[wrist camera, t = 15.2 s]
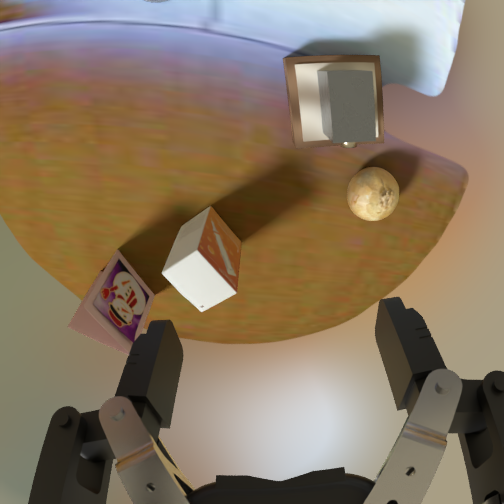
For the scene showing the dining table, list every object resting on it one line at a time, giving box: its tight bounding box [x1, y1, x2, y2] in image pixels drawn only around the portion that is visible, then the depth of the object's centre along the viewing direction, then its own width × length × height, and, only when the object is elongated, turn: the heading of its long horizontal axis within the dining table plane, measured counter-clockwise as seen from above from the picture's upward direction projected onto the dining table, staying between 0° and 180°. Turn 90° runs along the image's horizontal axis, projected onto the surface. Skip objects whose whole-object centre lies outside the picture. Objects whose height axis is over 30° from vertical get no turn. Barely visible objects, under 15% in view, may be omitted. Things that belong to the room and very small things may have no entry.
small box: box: [162, 206, 242, 312], centre depth 46 cm, size 8×6×13 cm
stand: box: [283, 55, 384, 149], centre depth 38 cm, size 12×12×4 cm
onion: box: [347, 167, 399, 221], centre depth 44 cm, size 8×8×7 cm
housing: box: [317, 70, 376, 148], centre depth 33 cm, size 9×5×6 cm, turn 8°
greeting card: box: [68, 249, 155, 355], centre depth 50 cm, size 11×7×15 cm, turn 27°
